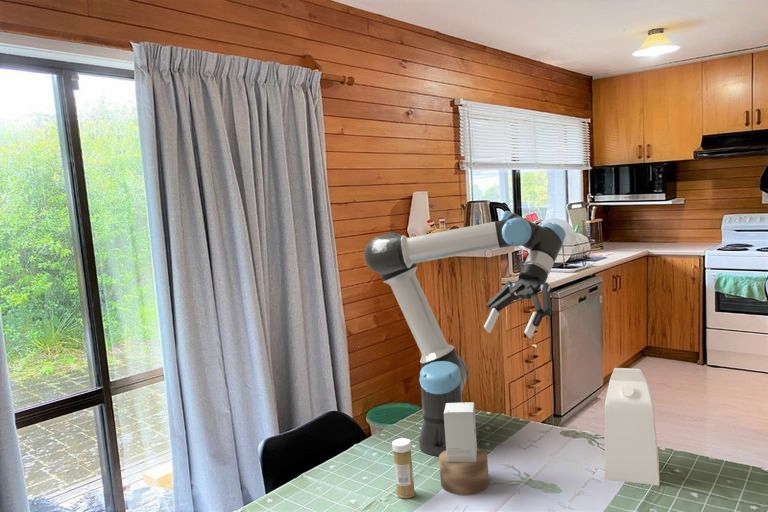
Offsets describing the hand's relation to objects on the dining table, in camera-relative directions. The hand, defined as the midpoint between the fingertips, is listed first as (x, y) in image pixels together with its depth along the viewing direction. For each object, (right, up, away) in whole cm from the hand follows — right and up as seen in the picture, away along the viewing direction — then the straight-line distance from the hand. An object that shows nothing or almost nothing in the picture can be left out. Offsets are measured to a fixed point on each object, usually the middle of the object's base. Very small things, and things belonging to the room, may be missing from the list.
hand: (506, 332), depth 156 cm
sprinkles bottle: (-28, -38, -16) cm, 49 cm away
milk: (+28, -33, -13) cm, 45 cm away
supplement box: (-14, -29, -12) cm, 35 cm away
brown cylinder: (-13, -36, -12) cm, 40 cm away
